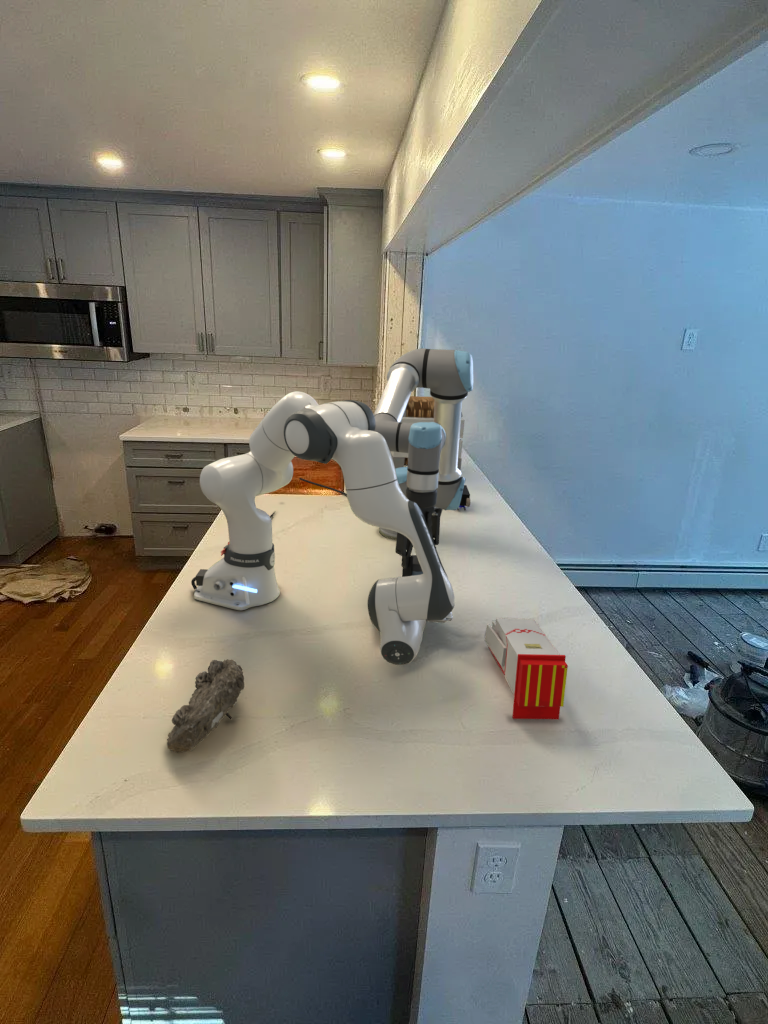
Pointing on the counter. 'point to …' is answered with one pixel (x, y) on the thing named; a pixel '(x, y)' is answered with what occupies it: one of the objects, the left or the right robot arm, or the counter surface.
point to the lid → (416, 564)
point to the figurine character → (465, 498)
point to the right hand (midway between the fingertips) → (415, 575)
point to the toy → (529, 667)
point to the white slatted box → (421, 412)
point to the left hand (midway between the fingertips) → (414, 589)
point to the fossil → (206, 705)
